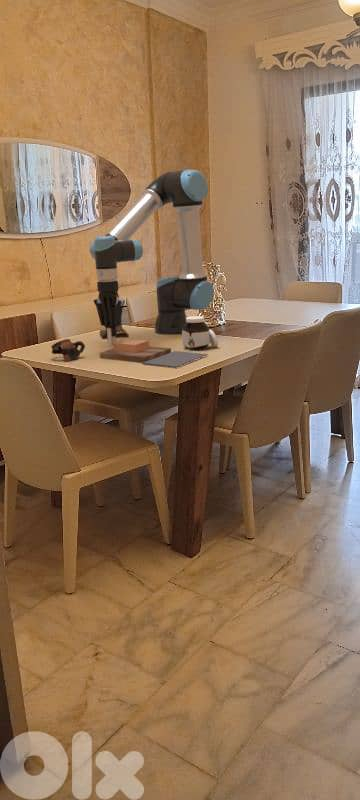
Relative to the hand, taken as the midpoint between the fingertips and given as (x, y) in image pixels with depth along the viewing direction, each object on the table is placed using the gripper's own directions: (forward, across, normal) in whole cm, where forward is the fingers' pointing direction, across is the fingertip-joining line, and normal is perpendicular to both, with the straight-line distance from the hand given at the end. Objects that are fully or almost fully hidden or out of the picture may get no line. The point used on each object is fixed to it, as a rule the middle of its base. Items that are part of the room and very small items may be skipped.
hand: (112, 344), depth 235 cm
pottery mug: (+4, -9, -13) cm, 17 cm away
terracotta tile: (+1, +9, 0) cm, 9 cm away
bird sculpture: (+4, -22, +28) cm, 36 cm away
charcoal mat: (+3, +28, 0) cm, 28 cm away
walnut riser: (+3, +11, 0) cm, 11 cm away
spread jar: (+4, +26, +21) cm, 33 cm away
